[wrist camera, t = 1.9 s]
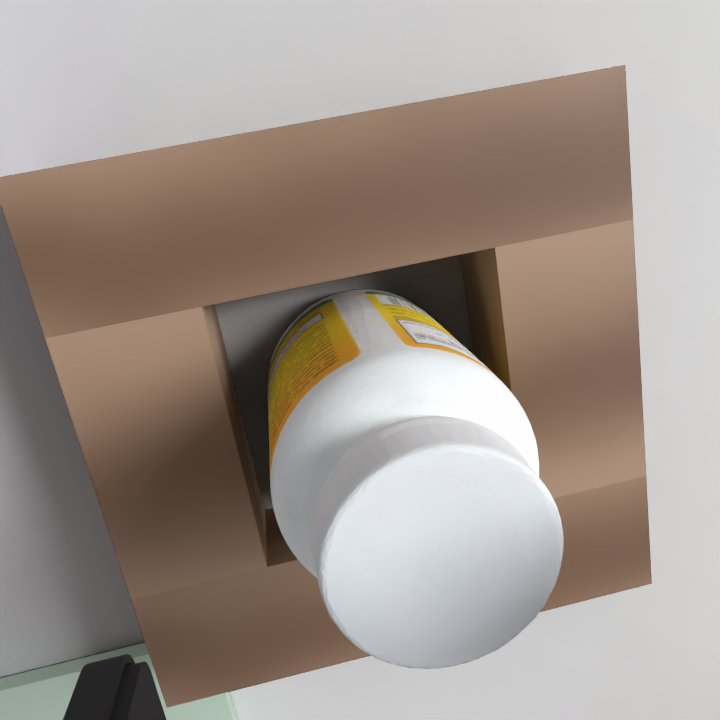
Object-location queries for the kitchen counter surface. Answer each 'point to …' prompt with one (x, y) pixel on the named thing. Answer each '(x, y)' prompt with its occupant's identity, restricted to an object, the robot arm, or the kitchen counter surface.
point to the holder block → (321, 264)
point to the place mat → (57, 682)
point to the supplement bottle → (407, 483)
